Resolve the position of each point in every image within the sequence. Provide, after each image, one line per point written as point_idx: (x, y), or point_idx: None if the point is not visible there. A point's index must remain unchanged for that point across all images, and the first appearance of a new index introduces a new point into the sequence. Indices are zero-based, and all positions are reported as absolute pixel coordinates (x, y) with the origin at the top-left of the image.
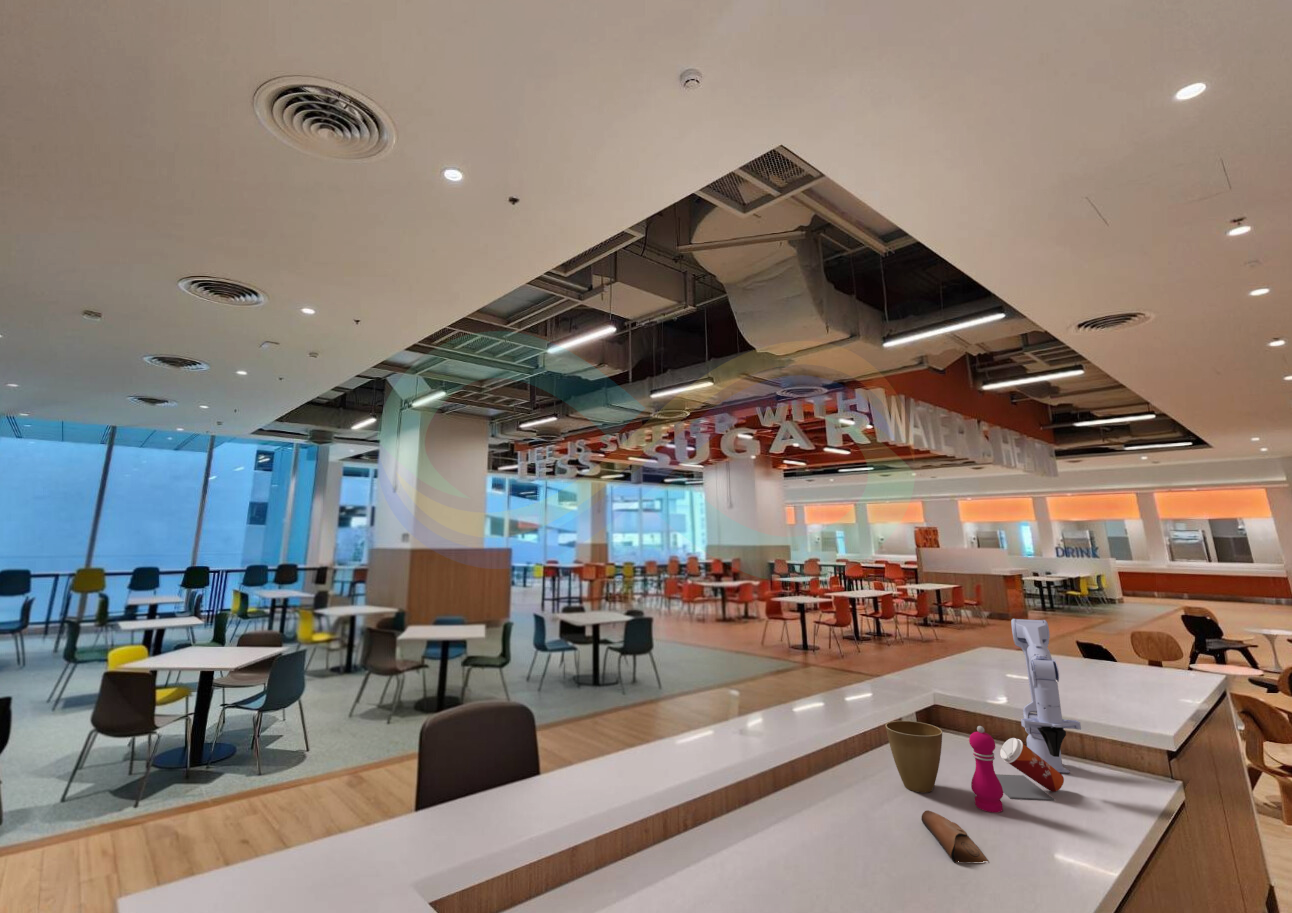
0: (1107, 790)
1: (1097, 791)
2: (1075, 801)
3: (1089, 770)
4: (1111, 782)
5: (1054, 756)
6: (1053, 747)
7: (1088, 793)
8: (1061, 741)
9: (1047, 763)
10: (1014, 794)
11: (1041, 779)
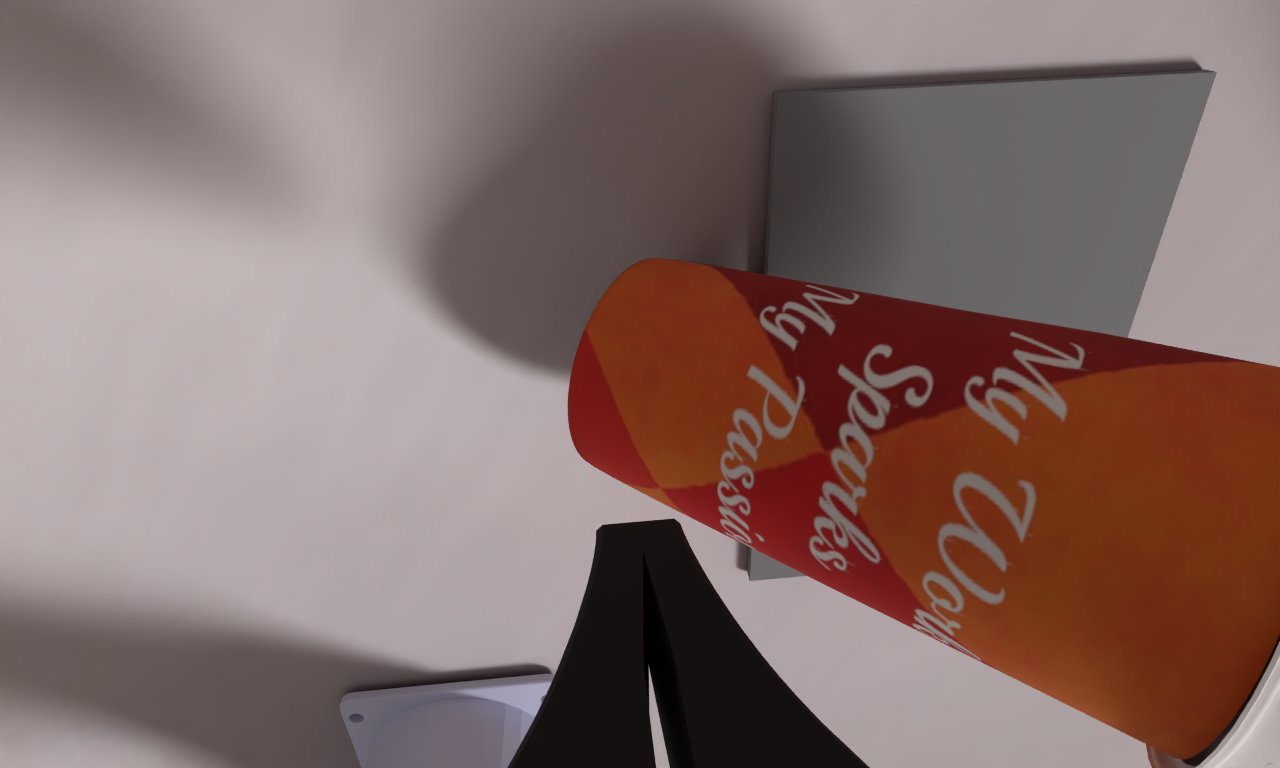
0: (138, 439)
1: (239, 401)
2: (559, 113)
3: (174, 761)
4: (58, 600)
5: (672, 519)
6: (708, 615)
7: (341, 341)
8: (547, 734)
9: (754, 457)
10: (1121, 150)
11: (848, 289)
